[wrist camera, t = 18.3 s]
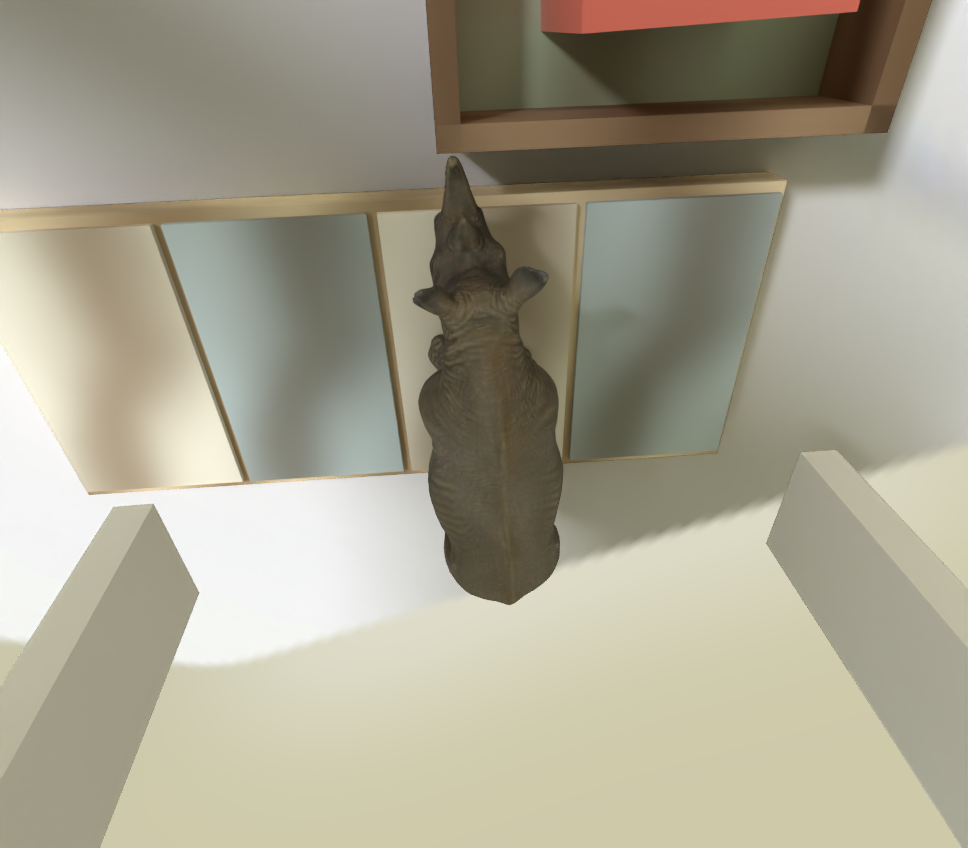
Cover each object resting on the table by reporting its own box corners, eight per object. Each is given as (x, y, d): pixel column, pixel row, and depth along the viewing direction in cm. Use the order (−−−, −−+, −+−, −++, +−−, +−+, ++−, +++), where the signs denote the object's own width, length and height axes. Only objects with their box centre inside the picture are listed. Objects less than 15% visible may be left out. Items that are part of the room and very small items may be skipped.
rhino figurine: (537, 125, 15) (585, 173, 10) (548, 505, 23) (578, 635, 18) (382, 141, 15) (355, 198, 10) (446, 516, 23) (449, 649, 18)
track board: (104, 474, 22) (86, 498, 21) (-39, 211, 17) (-74, 225, 15) (705, 435, 23) (719, 456, 22) (768, 171, 17) (790, 182, 16)
